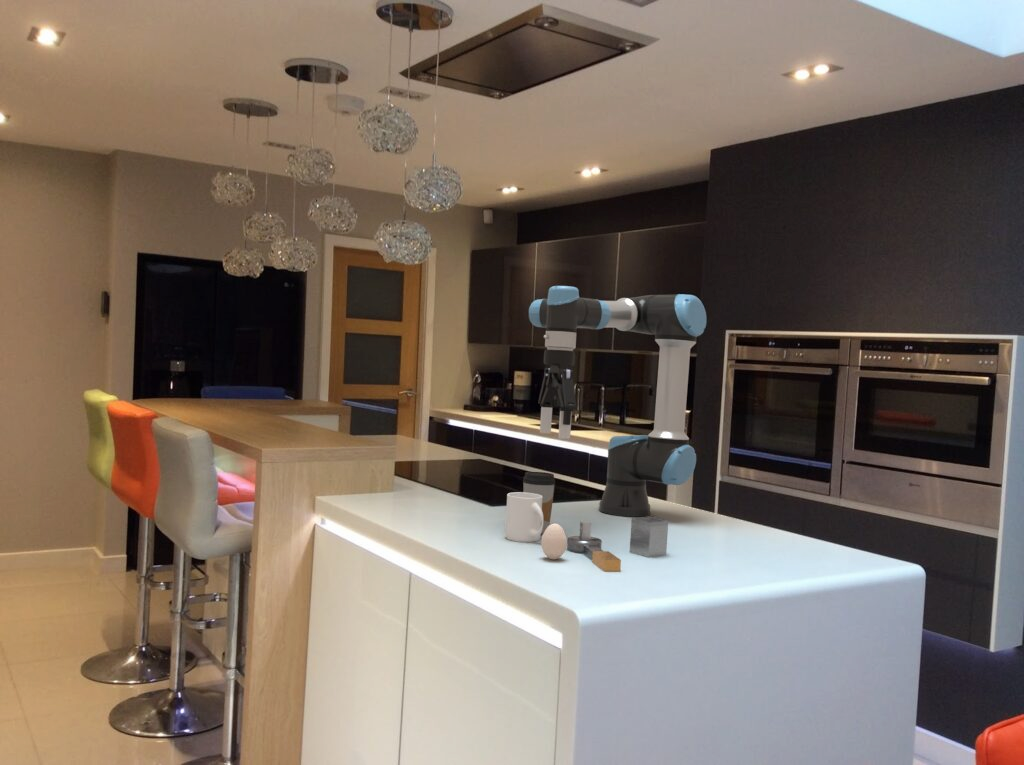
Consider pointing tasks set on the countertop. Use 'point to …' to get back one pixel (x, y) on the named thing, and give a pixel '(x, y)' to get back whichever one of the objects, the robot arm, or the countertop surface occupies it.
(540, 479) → the coffee cup
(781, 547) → the countertop surface
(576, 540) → the ratchet
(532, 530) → the mug
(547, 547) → the egg
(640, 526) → the grey rectangular block
